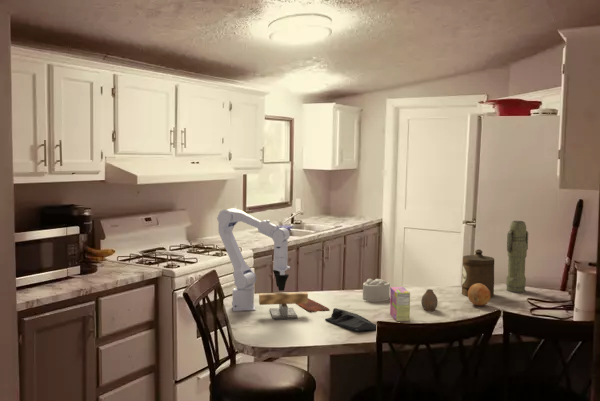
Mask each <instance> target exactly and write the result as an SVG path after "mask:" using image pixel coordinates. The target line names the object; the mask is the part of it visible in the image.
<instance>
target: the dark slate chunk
mask: <svg viewBox="0 0 600 401" xmlns="http://www.w3.org/2000/svg"><path fill="white" fill-rule="evenodd" d="M324 320H325V321H326V322H330V323H331V324H333V325H336V326H340V327H343V328H345V329H347V328H348V330H350V331H354V332H364V331H377V330H376V325H377V323H373V322H372V321H370V320H369V319H367V318H366V317H363V316H361V315H360V314H357V313H355V312H351V311H348V310H345V309H341V308H337V307H335V308H333V310H332V313H331V317H328V318H325V319H324Z"/></svg>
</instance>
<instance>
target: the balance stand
mask: <svg viewBox="0 0 600 401" xmlns="http://www.w3.org/2000/svg"><path fill="white" fill-rule="evenodd" d="M278 305H279V307H274V308H273V307H272V308H270V307H269V313H270V315H271V318H272V320H273V321H287V320H289V321H290V320H298V319H299V317H298V315H297V312H296V310H295V309H294V308H293V307H288V304H278Z"/></svg>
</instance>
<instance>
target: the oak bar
mask: <svg viewBox="0 0 600 401" xmlns="http://www.w3.org/2000/svg"><path fill="white" fill-rule="evenodd" d="M308 298H309V293H308V292H307V291H304V292H303V291H302V292H301V291H299V292H298V291H297V292H295V291H294V292H270V293H269V292H265V293H261V292H260V293H258V303H259V305H260V306H264V305H267V306H268V305H279V304H287V305H292V304H293V305H294V304H295V305H298V304H301V303H308Z"/></svg>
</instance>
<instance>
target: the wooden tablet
mask: <svg viewBox="0 0 600 401" xmlns="http://www.w3.org/2000/svg"><path fill="white" fill-rule="evenodd" d="M297 305H298V306H300V307H301V308H302V309H304V310H306V311H307V312H308V313H317V312H328V311H330V308H329V307H327V306H325V305H323V304H321V303H319V302H317V301H315V300H313V299H311V298H309V297H308V303H301V304H297Z"/></svg>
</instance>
